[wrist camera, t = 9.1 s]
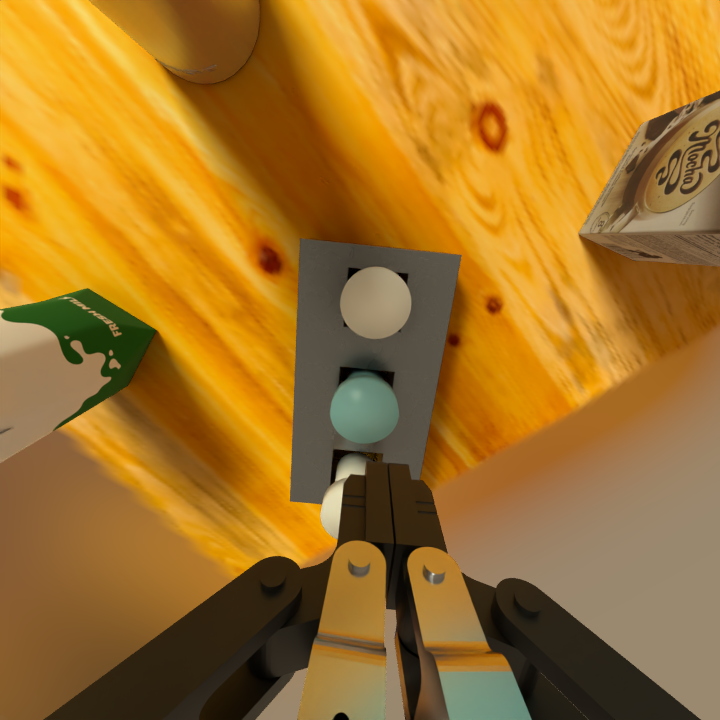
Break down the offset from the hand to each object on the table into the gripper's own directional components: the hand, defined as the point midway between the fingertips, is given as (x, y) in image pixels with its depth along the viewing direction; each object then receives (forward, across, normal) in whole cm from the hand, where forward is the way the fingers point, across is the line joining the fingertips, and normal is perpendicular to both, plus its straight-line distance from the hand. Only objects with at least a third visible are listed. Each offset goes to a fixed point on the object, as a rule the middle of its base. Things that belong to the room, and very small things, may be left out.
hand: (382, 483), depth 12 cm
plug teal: (+19, 0, +4) cm, 19 cm away
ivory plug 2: (+21, 0, -4) cm, 21 cm away
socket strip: (+22, 0, +4) cm, 22 cm away
